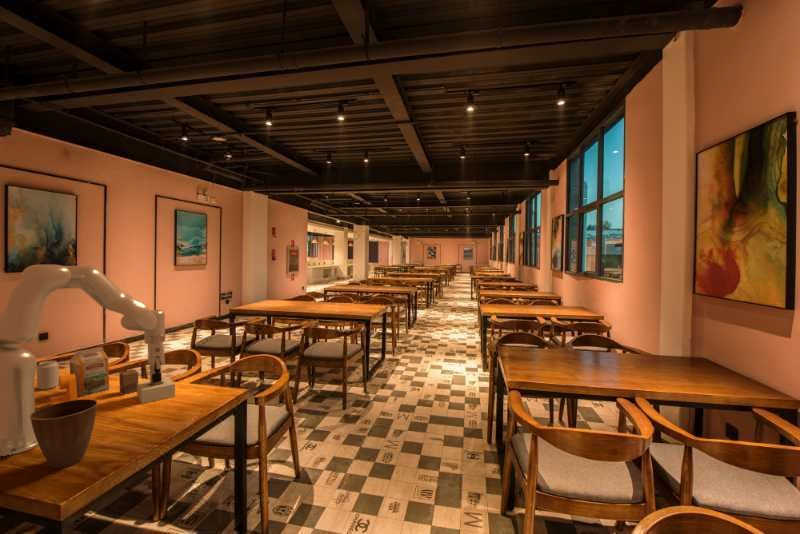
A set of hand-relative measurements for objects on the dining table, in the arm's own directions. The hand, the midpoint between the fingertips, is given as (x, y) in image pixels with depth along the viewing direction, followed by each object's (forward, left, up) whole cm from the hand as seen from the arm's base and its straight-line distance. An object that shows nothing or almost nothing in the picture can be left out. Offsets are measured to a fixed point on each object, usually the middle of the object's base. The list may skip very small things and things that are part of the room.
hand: (155, 380), depth 166 cm
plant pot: (-44, +30, -7) cm, 54 cm away
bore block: (0, 0, -7) cm, 7 cm away
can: (+46, +35, -7) cm, 58 cm away
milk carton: (+27, +21, -7) cm, 35 cm away
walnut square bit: (+14, +8, -7) cm, 18 cm away
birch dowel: (0, 0, -3) cm, 3 cm away
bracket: (+14, +30, -7) cm, 34 cm away
